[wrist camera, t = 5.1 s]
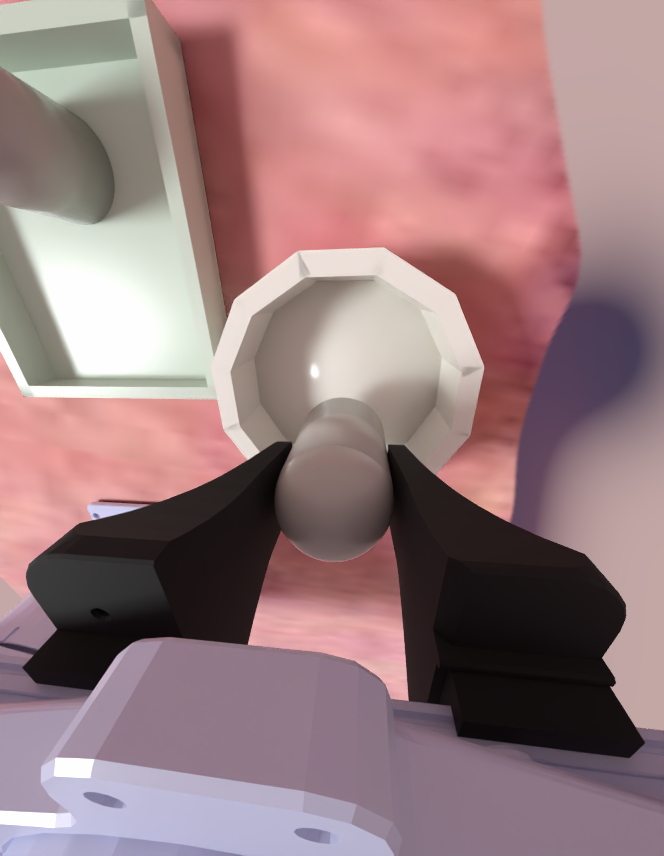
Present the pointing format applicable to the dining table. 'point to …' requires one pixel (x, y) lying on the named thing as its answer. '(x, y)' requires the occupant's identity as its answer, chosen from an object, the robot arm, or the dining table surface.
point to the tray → (112, 216)
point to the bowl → (348, 353)
